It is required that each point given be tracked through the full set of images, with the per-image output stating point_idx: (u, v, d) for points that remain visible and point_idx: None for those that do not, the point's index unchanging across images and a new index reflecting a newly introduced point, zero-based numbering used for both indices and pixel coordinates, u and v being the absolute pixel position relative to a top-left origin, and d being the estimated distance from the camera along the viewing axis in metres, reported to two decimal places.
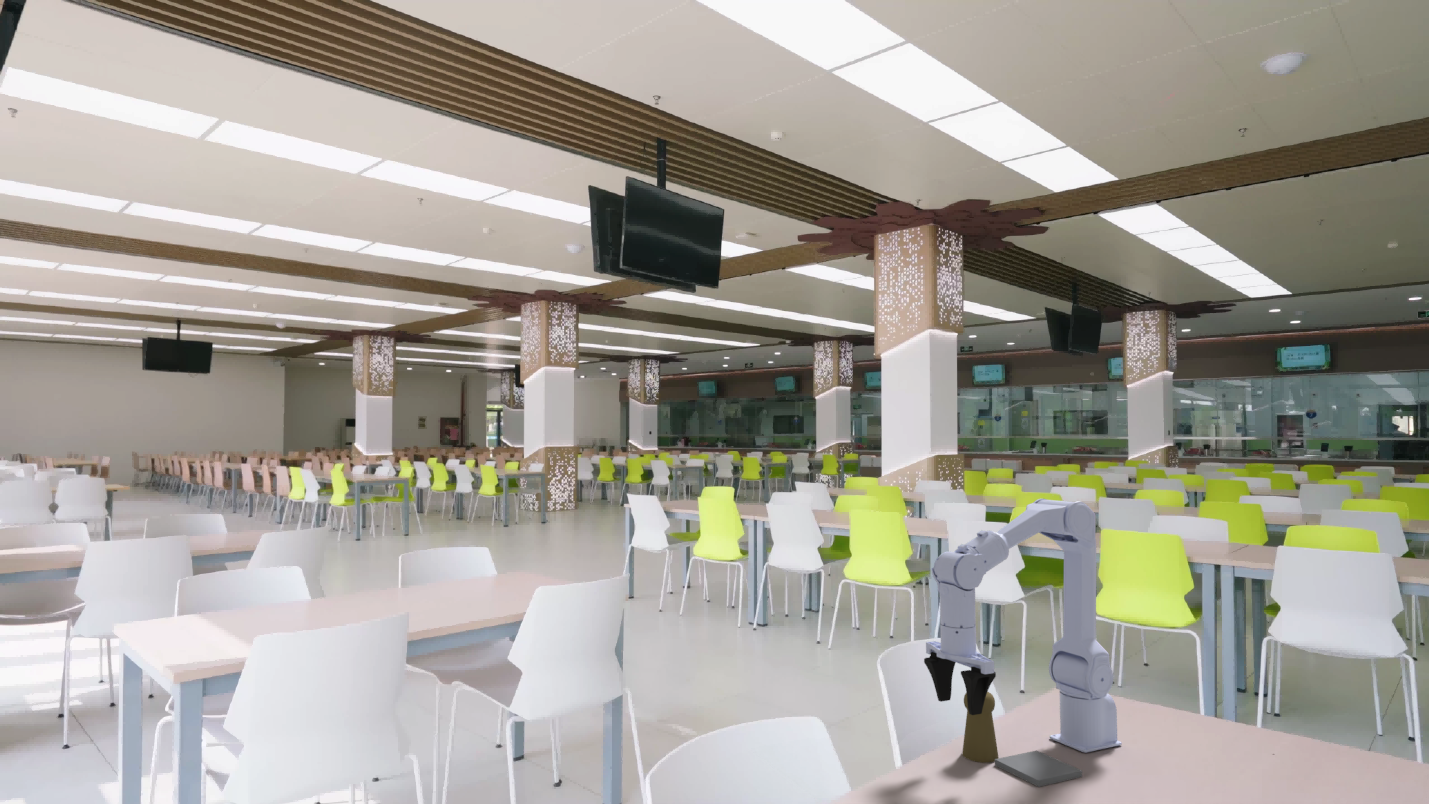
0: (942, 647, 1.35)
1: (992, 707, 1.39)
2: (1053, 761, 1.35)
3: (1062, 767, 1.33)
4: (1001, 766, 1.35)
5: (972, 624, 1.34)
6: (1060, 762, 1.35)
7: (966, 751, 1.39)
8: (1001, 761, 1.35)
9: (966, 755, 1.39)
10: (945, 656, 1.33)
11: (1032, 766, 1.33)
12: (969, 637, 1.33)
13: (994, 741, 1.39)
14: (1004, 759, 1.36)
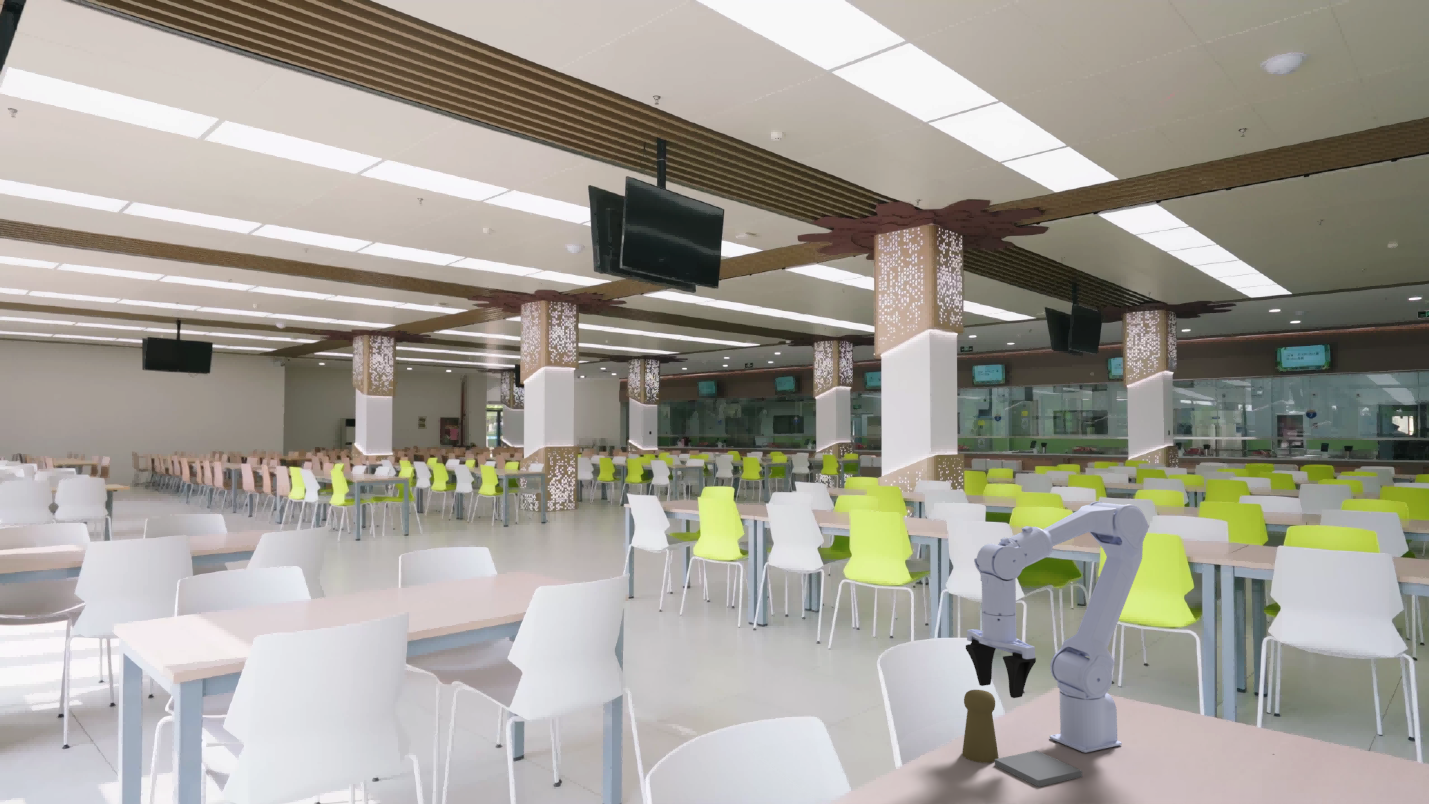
0: (984, 634, 1.43)
1: (992, 707, 1.39)
2: (1053, 761, 1.35)
3: (1062, 767, 1.33)
4: (1001, 766, 1.35)
5: (1011, 612, 1.41)
6: (1060, 762, 1.35)
7: (966, 751, 1.39)
8: (1001, 761, 1.35)
9: (966, 755, 1.39)
10: (987, 642, 1.41)
11: (1032, 766, 1.33)
12: (1010, 624, 1.41)
13: (994, 741, 1.39)
14: (1004, 759, 1.36)
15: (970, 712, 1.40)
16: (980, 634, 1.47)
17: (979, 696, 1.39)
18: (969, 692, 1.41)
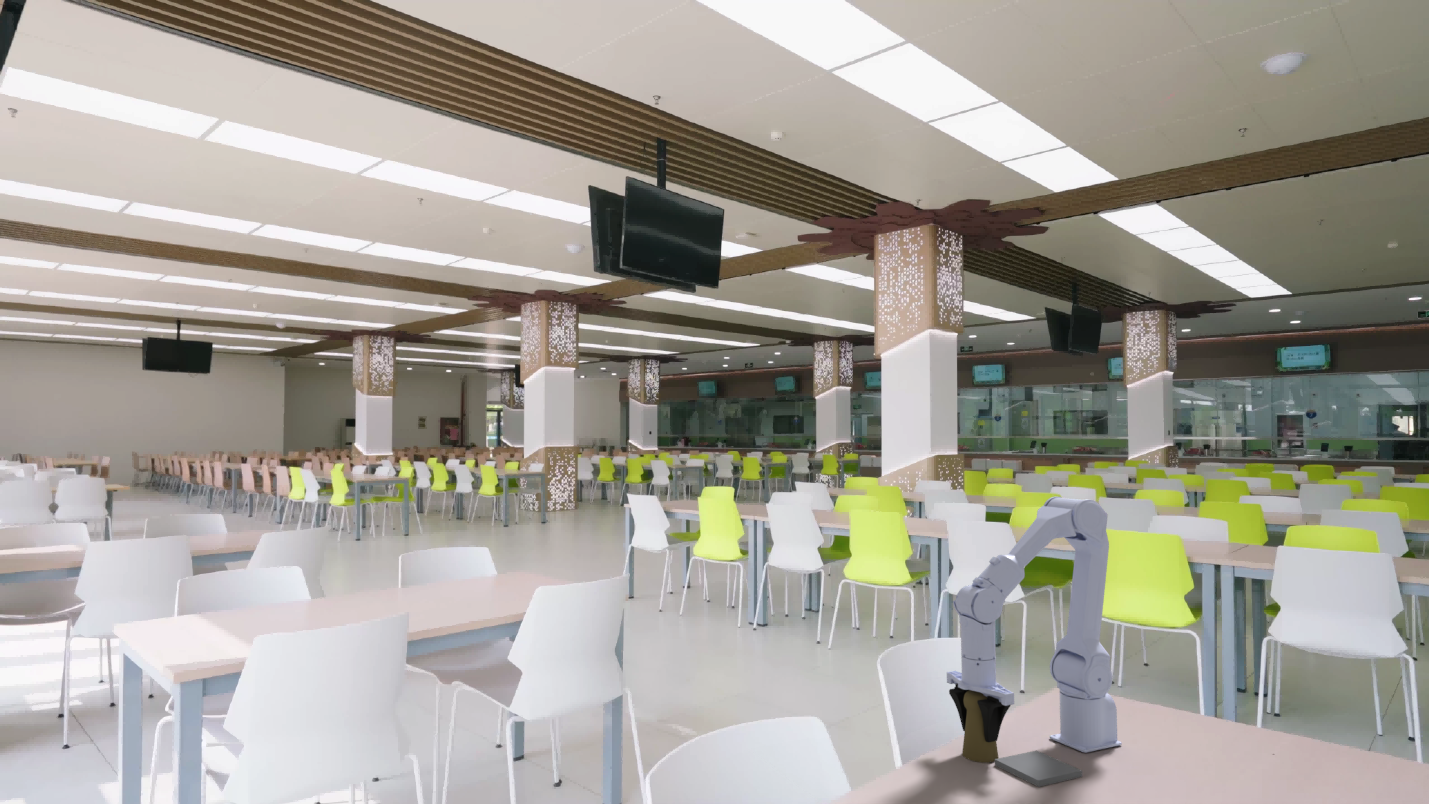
0: (963, 678, 1.41)
1: None
2: (1053, 761, 1.35)
3: (1062, 767, 1.33)
4: (1001, 766, 1.35)
5: (991, 657, 1.39)
6: (1060, 762, 1.35)
7: (966, 751, 1.39)
8: (1001, 761, 1.35)
9: (966, 755, 1.39)
10: (966, 687, 1.39)
11: (1032, 766, 1.33)
12: (989, 669, 1.39)
13: (994, 741, 1.39)
14: (1004, 759, 1.36)
15: (969, 711, 1.40)
16: (960, 677, 1.45)
17: (979, 695, 1.39)
18: (968, 692, 1.41)
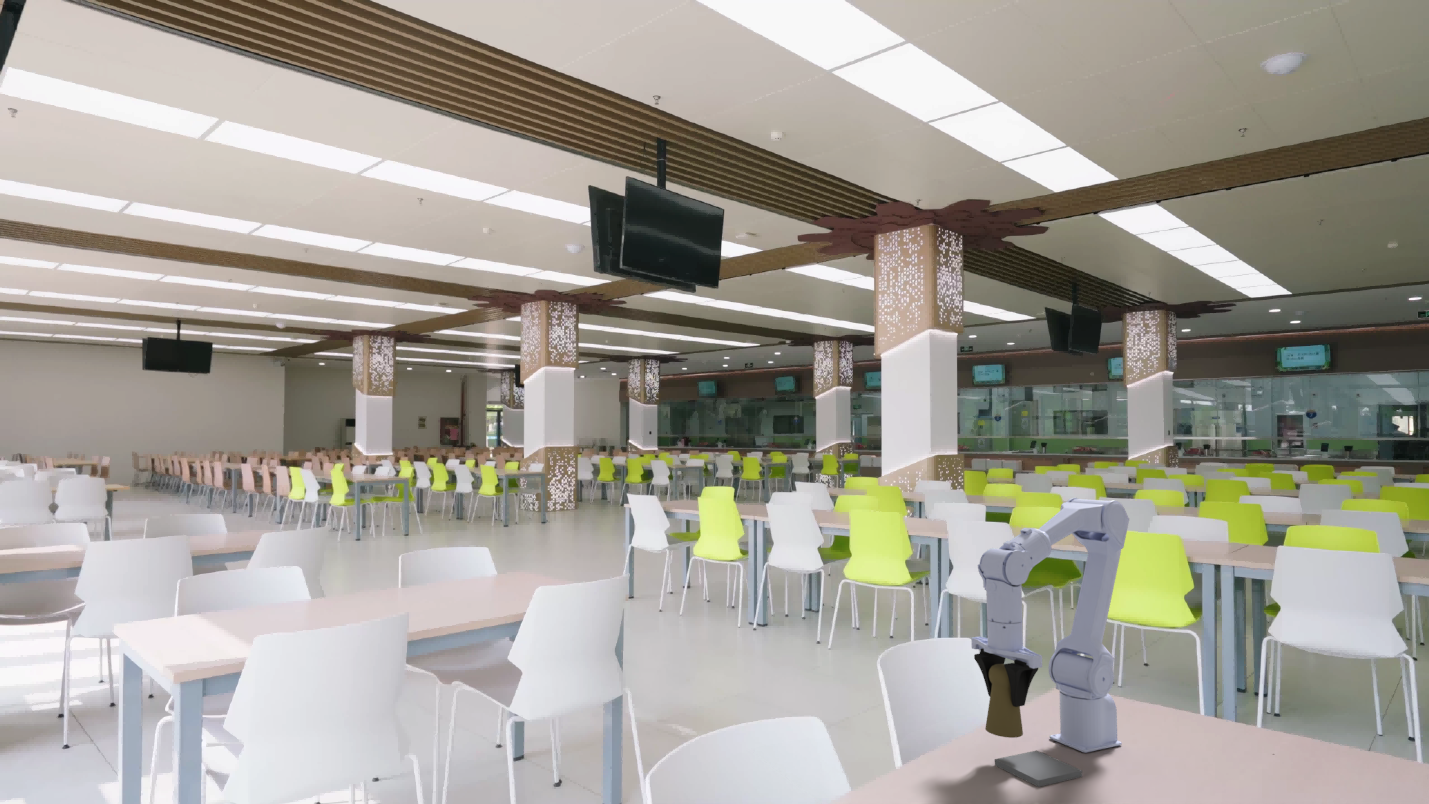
0: (989, 642, 1.38)
1: None
2: (1053, 761, 1.35)
3: (1062, 767, 1.33)
4: (1001, 766, 1.35)
5: (1020, 619, 1.36)
6: (1060, 762, 1.35)
7: (989, 725, 1.37)
8: (1001, 761, 1.35)
9: (989, 729, 1.37)
10: (993, 651, 1.36)
11: (1032, 766, 1.33)
12: (1016, 632, 1.36)
13: (1019, 716, 1.36)
14: (1004, 759, 1.36)
15: (994, 685, 1.37)
16: (985, 642, 1.42)
17: (1004, 669, 1.36)
18: (994, 665, 1.38)
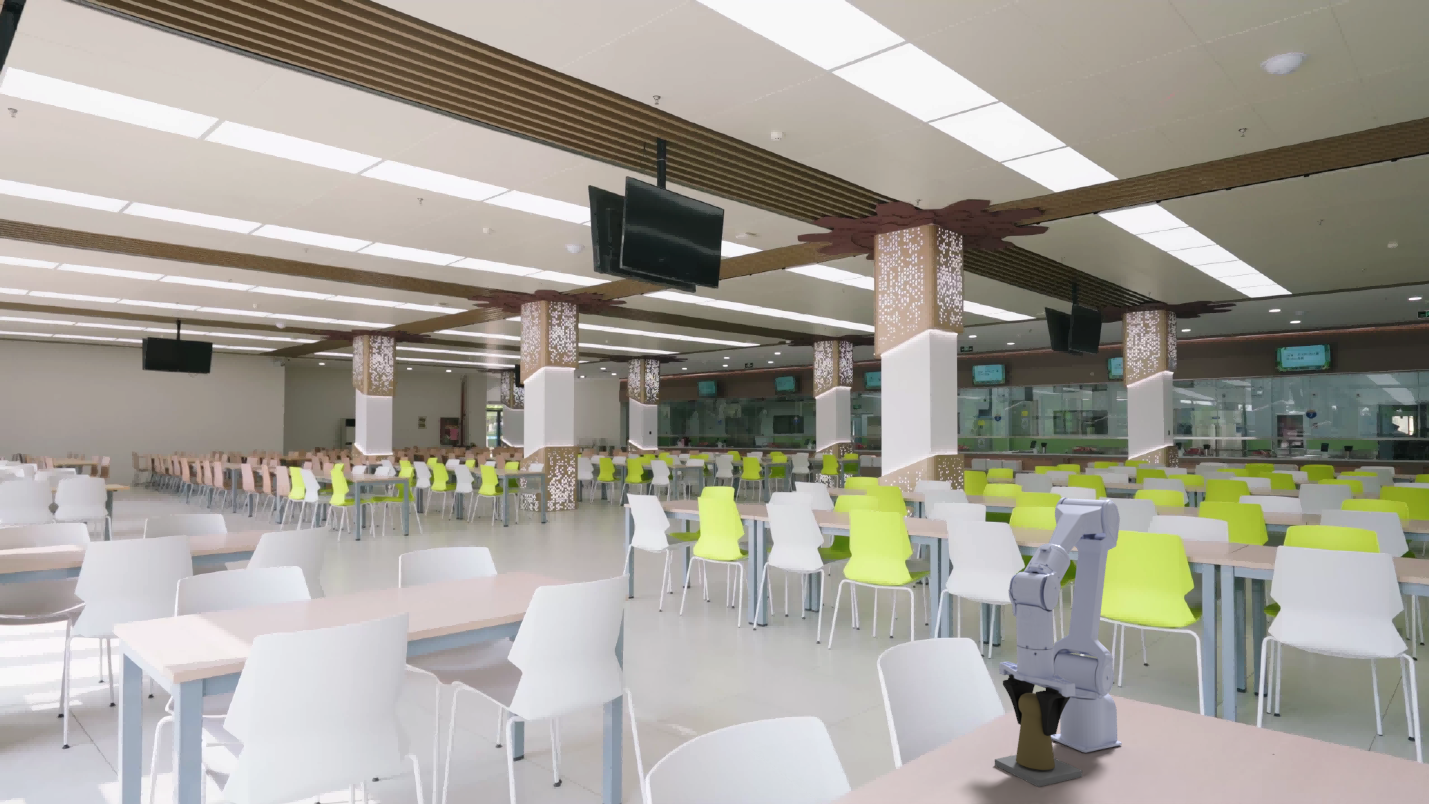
0: (1019, 668, 1.34)
1: None
2: None
3: (1062, 767, 1.33)
4: (1001, 766, 1.35)
5: (1052, 644, 1.33)
6: (1060, 762, 1.35)
7: (1020, 756, 1.33)
8: (1001, 761, 1.35)
9: (1020, 761, 1.33)
10: (1023, 678, 1.32)
11: None
12: (1047, 659, 1.32)
13: (1050, 748, 1.32)
14: (1004, 759, 1.36)
15: (1025, 715, 1.33)
16: (1014, 667, 1.38)
17: (1035, 698, 1.33)
18: (1024, 695, 1.35)
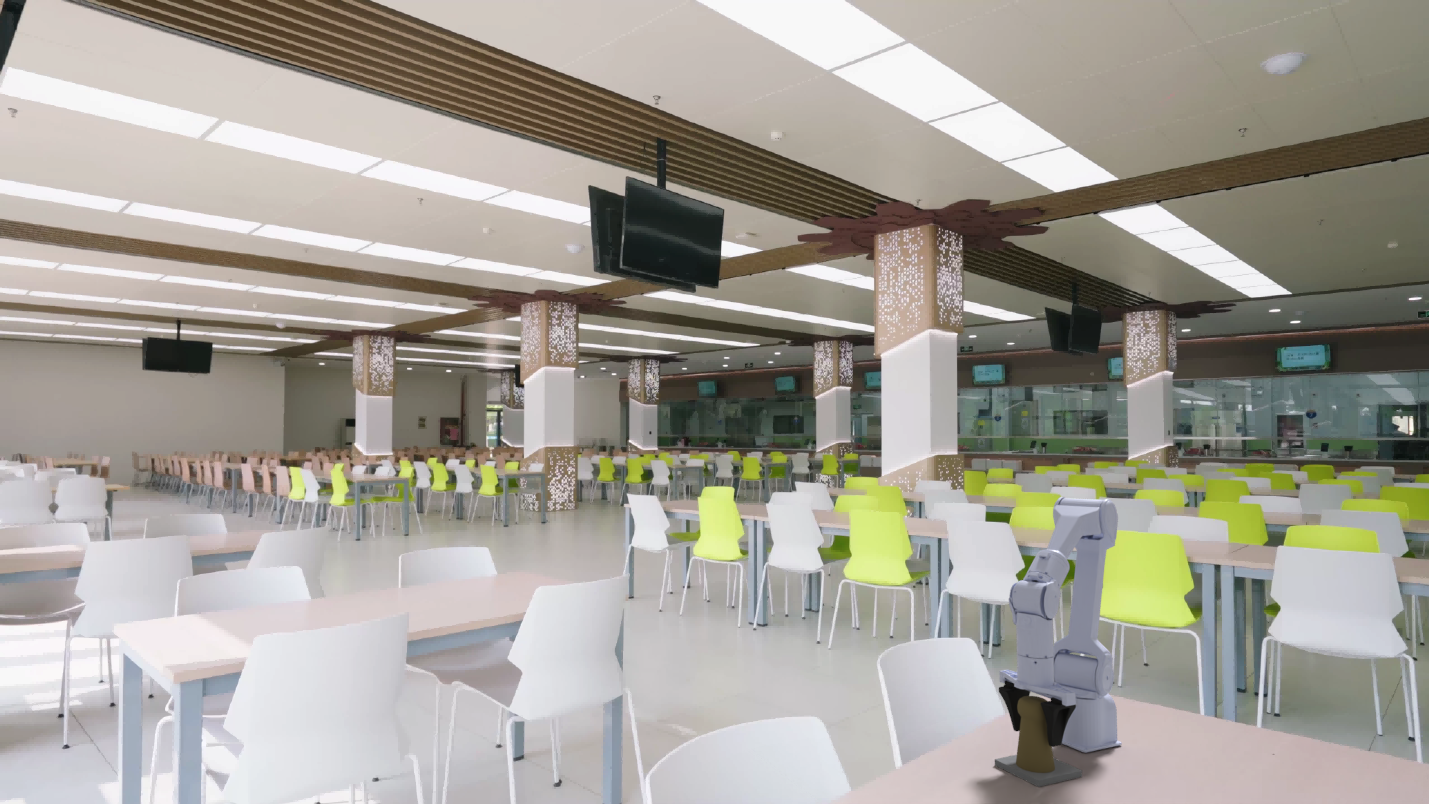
0: (1019, 677, 1.34)
1: None
2: None
3: (1062, 767, 1.33)
4: (1001, 766, 1.35)
5: (1053, 653, 1.33)
6: (1060, 762, 1.35)
7: (1020, 760, 1.33)
8: (1001, 761, 1.35)
9: (1020, 764, 1.33)
10: (1023, 687, 1.32)
11: None
12: (1048, 667, 1.32)
13: (1050, 750, 1.32)
14: (1004, 759, 1.36)
15: (1024, 719, 1.33)
16: (1014, 676, 1.38)
17: (1033, 702, 1.32)
18: (1023, 698, 1.34)
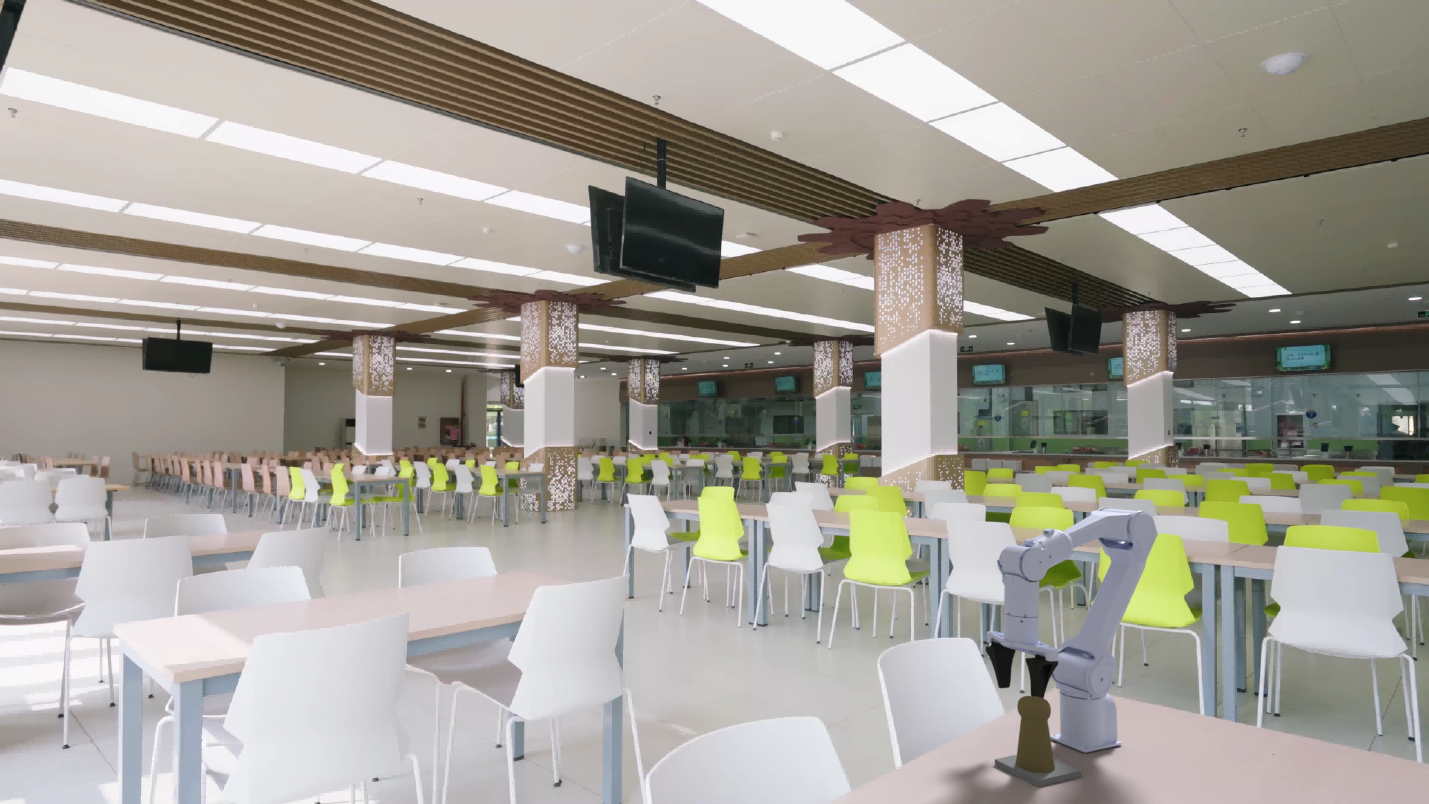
0: (1006, 635, 1.42)
1: (1048, 715, 1.32)
2: None
3: (1062, 767, 1.33)
4: (1001, 766, 1.35)
5: (1035, 614, 1.40)
6: (1060, 762, 1.35)
7: (1020, 760, 1.33)
8: (1001, 761, 1.35)
9: (1020, 764, 1.33)
10: (1010, 644, 1.40)
11: None
12: (1033, 626, 1.40)
13: (1050, 750, 1.32)
14: (1004, 759, 1.36)
15: (1024, 719, 1.33)
16: (1000, 636, 1.46)
17: (1033, 702, 1.32)
18: (1023, 698, 1.34)
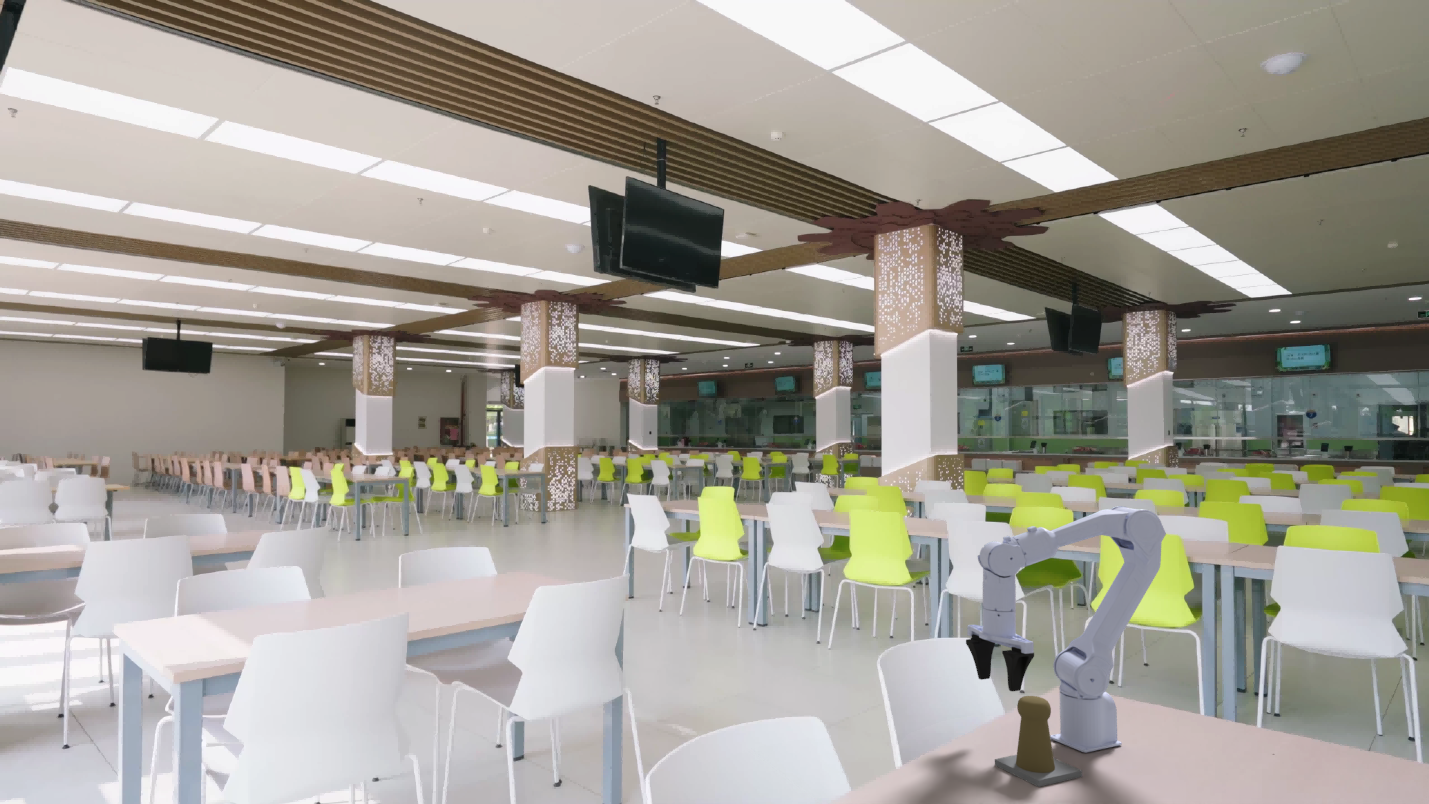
0: (984, 629, 1.47)
1: (1048, 715, 1.32)
2: None
3: (1062, 767, 1.33)
4: (1001, 766, 1.35)
5: (1008, 609, 1.45)
6: (1060, 762, 1.35)
7: (1020, 760, 1.33)
8: (1001, 761, 1.35)
9: (1020, 764, 1.33)
10: (987, 637, 1.45)
11: None
12: (1010, 620, 1.45)
13: (1050, 750, 1.32)
14: (1004, 759, 1.36)
15: (1024, 719, 1.33)
16: (980, 629, 1.51)
17: (1033, 702, 1.32)
18: (1023, 698, 1.34)
